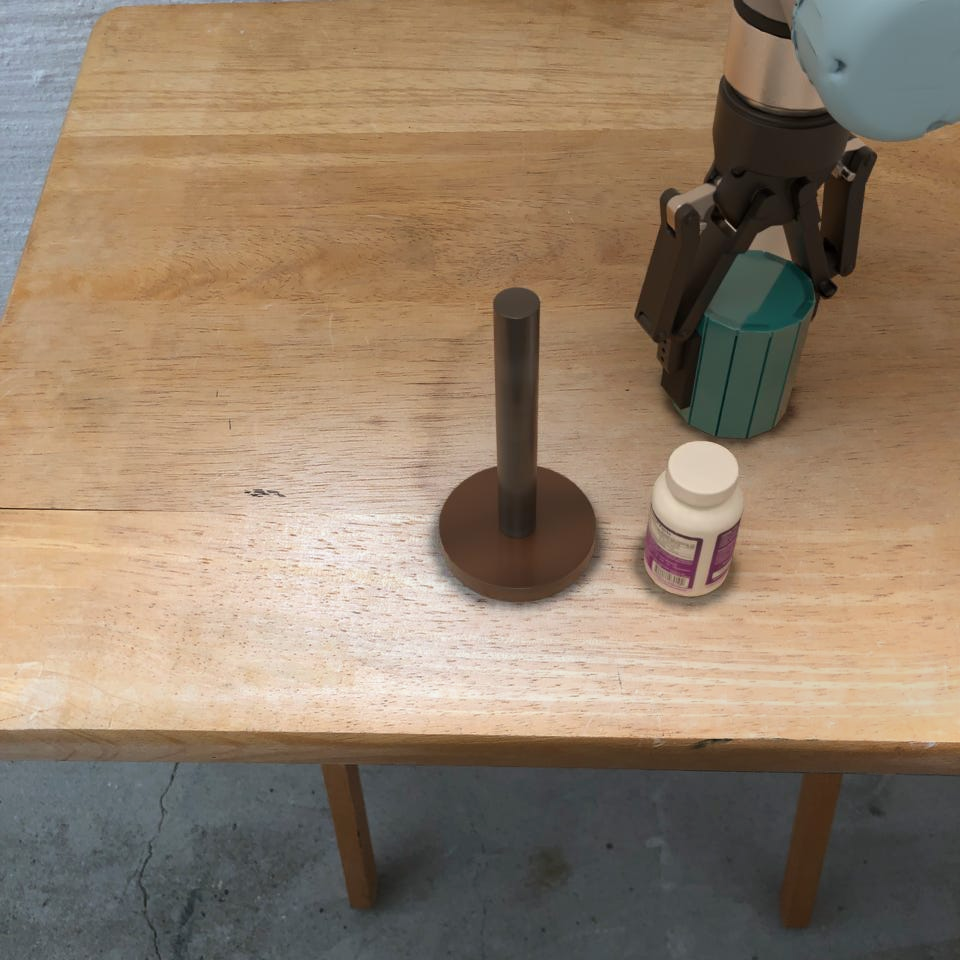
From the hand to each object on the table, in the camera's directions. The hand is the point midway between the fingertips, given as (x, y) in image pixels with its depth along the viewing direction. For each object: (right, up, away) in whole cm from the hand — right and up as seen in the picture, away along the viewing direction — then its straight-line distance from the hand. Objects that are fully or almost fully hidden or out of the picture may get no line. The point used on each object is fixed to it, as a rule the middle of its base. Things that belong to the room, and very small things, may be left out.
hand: (728, 375), depth 77 cm
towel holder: (-15, -11, -6) cm, 20 cm away
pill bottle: (-5, -13, -8) cm, 16 cm away
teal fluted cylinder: (0, -1, +1) cm, 2 cm away
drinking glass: (+4, +8, +9) cm, 12 cm away
